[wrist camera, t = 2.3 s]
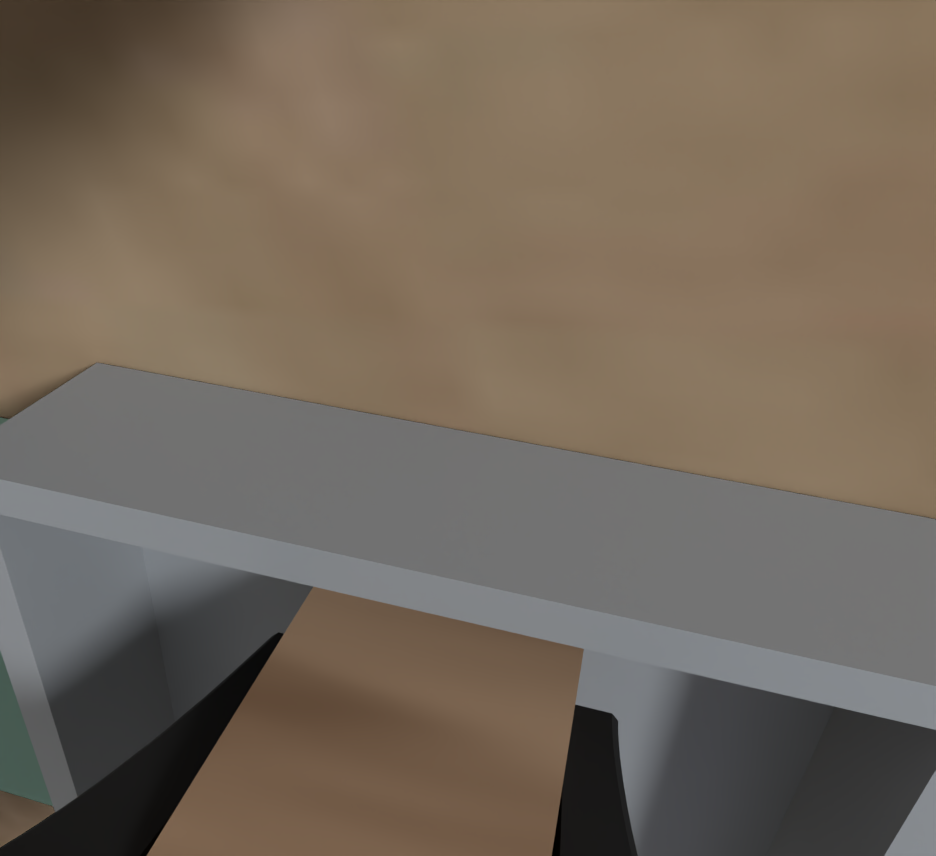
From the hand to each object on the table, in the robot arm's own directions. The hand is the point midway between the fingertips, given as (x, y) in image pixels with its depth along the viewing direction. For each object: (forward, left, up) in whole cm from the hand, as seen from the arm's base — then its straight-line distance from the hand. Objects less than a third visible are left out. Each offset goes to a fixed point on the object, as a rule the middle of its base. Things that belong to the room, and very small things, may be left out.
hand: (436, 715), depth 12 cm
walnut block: (0, 0, -1) cm, 1 cm away
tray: (-4, 0, -2) cm, 4 cm away
